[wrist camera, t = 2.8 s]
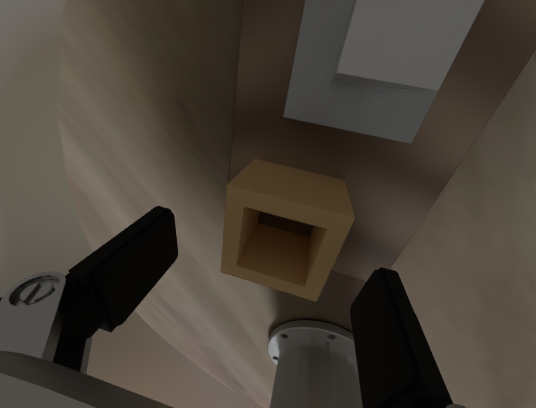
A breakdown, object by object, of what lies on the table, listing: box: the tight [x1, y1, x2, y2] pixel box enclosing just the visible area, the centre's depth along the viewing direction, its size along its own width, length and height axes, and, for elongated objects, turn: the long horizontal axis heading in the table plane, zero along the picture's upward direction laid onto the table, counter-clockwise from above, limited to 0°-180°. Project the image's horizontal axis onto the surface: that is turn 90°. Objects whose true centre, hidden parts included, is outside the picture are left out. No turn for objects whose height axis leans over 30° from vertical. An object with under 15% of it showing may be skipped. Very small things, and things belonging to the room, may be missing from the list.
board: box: [229, 0, 536, 281], centre depth 14 cm, size 20×14×2 cm
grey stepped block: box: [283, 0, 485, 144], centre depth 8 cm, size 7×7×6 cm
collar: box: [221, 159, 355, 302], centre depth 14 cm, size 6×6×5 cm
